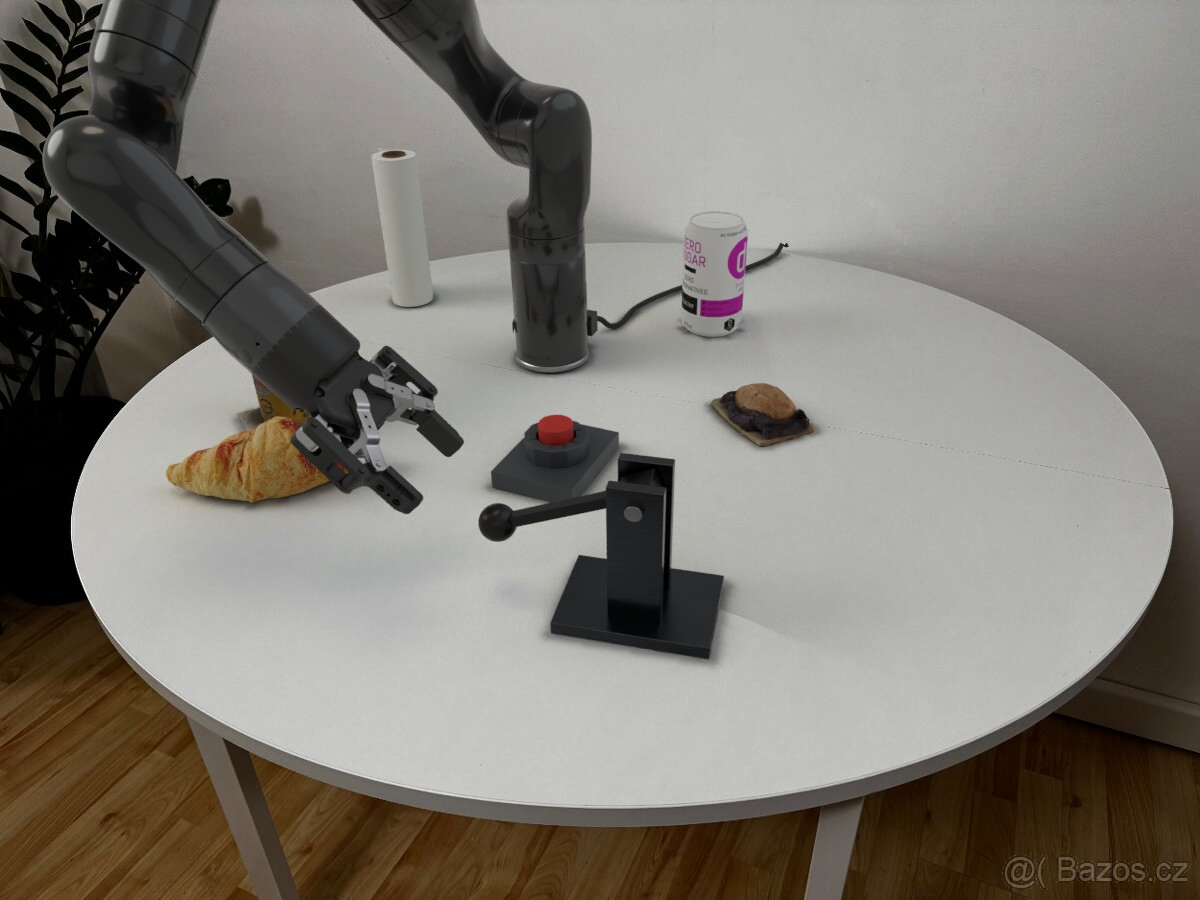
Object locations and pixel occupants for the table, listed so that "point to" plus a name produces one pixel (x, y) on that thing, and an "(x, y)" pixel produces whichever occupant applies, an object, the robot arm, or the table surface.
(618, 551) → the bracket
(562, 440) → the button
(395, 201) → the paper towel roll
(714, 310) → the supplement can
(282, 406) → the condiment
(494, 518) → the lever
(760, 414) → the brown rounded layered piece
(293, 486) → the croissant
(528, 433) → the control block
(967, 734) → the table surface
